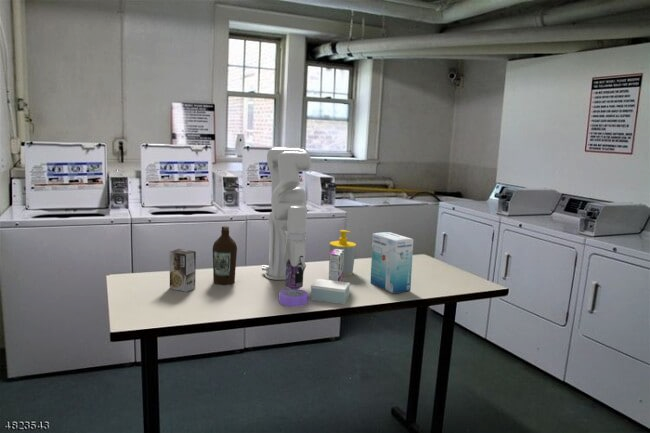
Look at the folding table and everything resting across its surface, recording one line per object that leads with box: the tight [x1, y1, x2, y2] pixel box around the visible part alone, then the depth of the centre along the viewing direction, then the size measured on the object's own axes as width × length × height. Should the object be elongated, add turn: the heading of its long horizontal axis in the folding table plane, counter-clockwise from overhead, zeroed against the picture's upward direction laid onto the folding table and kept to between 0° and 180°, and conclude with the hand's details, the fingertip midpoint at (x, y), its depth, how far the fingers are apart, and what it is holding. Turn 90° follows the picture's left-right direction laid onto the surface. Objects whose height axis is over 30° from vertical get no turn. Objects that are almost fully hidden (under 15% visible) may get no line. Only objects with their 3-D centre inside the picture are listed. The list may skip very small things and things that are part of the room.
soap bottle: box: [329, 229, 357, 277], centre depth 251 cm, size 13×13×21 cm
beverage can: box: [284, 259, 304, 289], centre depth 205 cm, size 7×7×12 cm
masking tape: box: [278, 288, 309, 307], centre depth 206 cm, size 12×12×4 cm
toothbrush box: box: [370, 231, 414, 294], centre depth 231 cm, size 18×10×24 cm, turn 30°
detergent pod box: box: [310, 278, 351, 305], centre depth 213 cm, size 14×10×6 cm
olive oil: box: [212, 225, 238, 286], centre depth 225 cm, size 11×11×25 cm
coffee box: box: [168, 248, 197, 293], centre depth 214 cm, size 9×6×16 cm
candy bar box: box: [328, 249, 344, 282], centre depth 227 cm, size 11×5×16 cm, turn 168°
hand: (294, 279), depth 205 cm, fingers closed on beverage can, 7 cm apart
